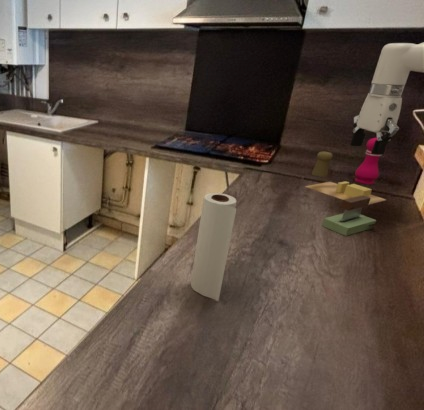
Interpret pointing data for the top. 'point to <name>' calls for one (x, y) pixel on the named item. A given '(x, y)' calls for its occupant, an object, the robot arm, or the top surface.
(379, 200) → the board
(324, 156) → the cork
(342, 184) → the butter pat
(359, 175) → the pepper mill
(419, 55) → the robot arm
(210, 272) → the paper towel roll
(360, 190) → the butter block
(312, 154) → the top surface
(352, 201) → the scraper
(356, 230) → the stand
